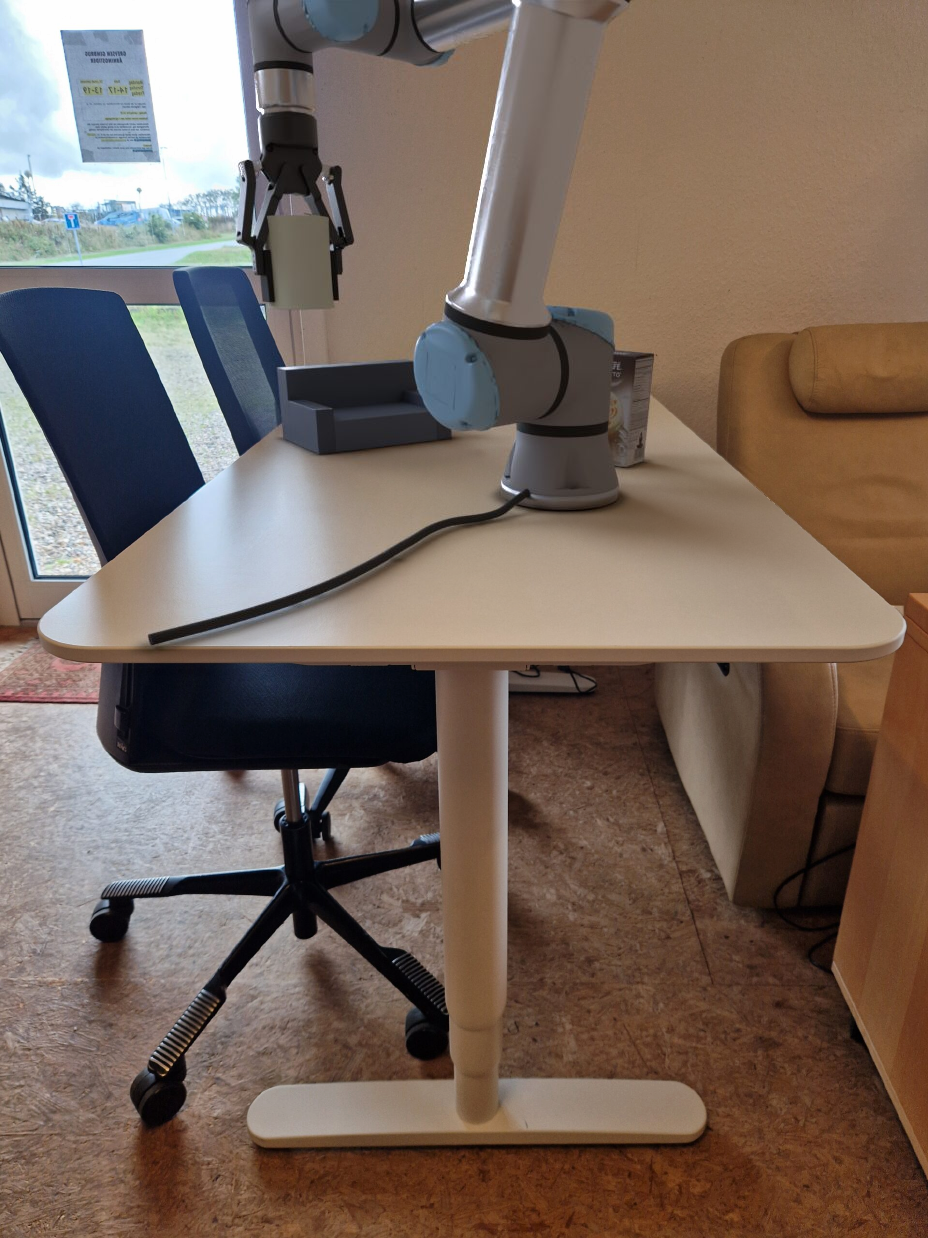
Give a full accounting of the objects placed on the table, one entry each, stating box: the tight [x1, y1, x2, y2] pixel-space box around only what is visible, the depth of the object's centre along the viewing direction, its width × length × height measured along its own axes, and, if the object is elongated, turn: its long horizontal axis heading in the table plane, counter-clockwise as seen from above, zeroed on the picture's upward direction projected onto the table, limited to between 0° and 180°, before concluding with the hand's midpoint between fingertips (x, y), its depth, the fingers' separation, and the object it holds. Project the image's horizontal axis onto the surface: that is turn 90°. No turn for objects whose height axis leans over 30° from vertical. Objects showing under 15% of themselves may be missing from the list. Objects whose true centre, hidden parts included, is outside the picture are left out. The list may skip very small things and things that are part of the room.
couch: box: [276, 358, 453, 455], centre depth 141 cm, size 16×25×12 cm, turn 122°
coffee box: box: [608, 349, 655, 468], centre depth 124 cm, size 9×6×16 cm
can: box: [263, 212, 336, 311], centre depth 113 cm, size 9×9×12 cm
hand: (301, 300), depth 115 cm, fingers closed on can, 9 cm apart
